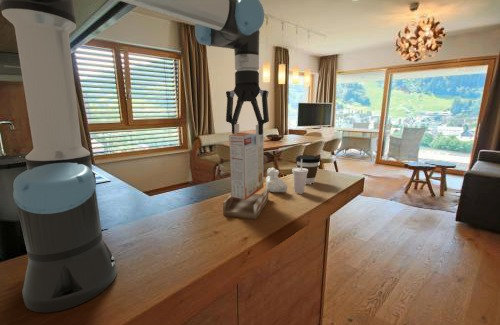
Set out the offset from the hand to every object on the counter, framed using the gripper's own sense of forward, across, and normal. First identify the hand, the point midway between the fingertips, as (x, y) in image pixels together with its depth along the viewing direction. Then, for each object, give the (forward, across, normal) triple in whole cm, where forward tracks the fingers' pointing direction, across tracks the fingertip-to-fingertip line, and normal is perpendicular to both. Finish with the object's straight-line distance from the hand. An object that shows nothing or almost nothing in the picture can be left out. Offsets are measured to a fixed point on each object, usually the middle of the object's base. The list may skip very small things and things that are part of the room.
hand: (247, 144), depth 83 cm
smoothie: (+22, +16, +20) cm, 34 cm away
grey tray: (+22, 0, 0) cm, 22 cm away
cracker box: (+17, 0, 0) cm, 17 cm away
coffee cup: (+22, +18, +35) cm, 45 cm away
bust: (+22, +6, +19) cm, 30 cm away
